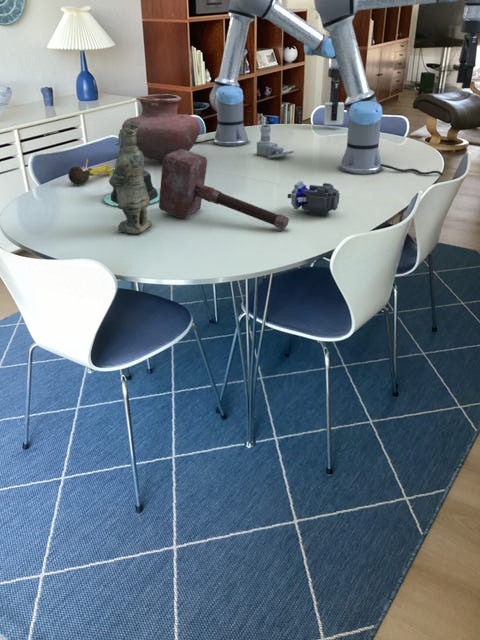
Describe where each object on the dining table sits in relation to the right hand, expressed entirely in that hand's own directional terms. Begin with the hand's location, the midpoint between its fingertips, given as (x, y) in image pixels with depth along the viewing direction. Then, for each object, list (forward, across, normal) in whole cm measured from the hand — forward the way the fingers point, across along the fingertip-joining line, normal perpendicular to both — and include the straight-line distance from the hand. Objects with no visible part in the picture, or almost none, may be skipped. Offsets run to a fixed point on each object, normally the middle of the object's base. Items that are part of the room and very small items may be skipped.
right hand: (462, 85), depth 203 cm
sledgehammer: (+28, -76, +74) cm, 109 cm away
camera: (+28, +1, +70) cm, 75 cm away
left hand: (+23, +59, +48) cm, 79 cm away
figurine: (+28, -38, +131) cm, 139 cm away
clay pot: (+28, -10, +114) cm, 118 cm away
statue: (+28, -86, +99) cm, 134 cm away
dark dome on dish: (+28, -58, +109) cm, 127 cm away
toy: (+28, -65, +48) cm, 86 cm away
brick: (+25, +59, +48) cm, 80 cm away
